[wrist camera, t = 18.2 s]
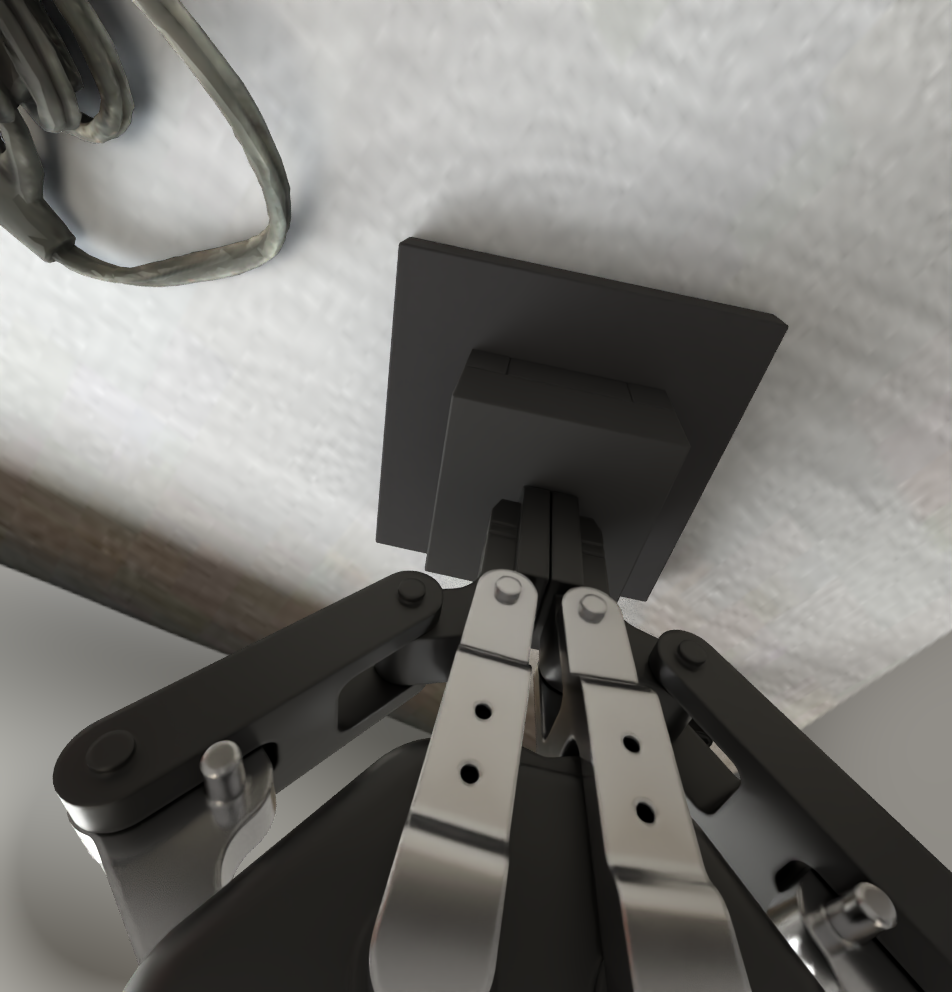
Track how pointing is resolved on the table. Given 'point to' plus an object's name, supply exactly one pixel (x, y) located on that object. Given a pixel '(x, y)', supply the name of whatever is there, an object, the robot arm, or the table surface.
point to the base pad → (563, 344)
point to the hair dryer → (117, 133)
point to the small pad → (552, 457)
